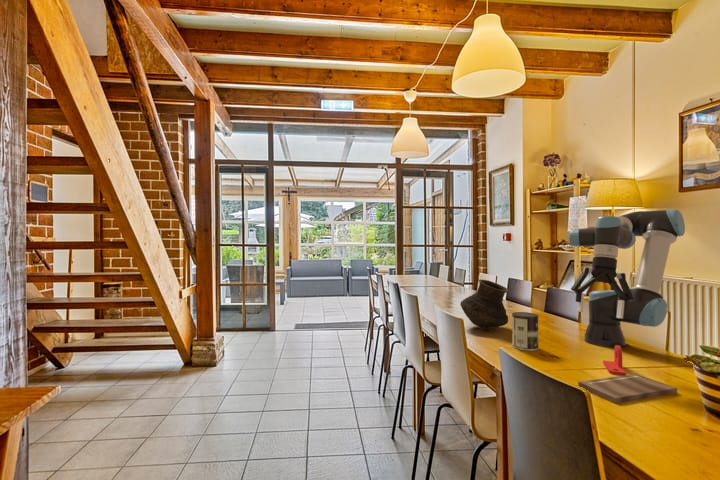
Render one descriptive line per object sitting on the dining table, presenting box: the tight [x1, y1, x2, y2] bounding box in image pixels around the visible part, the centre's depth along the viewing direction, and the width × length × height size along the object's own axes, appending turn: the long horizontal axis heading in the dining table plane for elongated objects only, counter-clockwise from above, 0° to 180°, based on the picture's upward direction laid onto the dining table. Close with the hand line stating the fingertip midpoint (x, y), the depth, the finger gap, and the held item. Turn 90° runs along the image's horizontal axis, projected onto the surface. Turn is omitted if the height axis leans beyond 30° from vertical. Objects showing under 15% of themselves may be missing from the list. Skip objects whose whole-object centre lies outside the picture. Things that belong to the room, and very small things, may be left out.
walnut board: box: [577, 373, 678, 404], centre depth 109 cm, size 24×12×2 cm, turn 106°
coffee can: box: [511, 311, 539, 352], centre depth 153 cm, size 10×10×14 cm
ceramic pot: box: [460, 279, 509, 329], centre depth 186 cm, size 24×24×22 cm
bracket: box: [602, 345, 627, 376], centre depth 127 cm, size 12×4×8 cm, turn 155°
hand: (599, 315), depth 131 cm, fingers open, 13 cm apart
